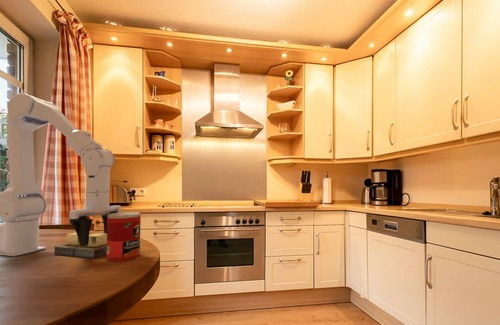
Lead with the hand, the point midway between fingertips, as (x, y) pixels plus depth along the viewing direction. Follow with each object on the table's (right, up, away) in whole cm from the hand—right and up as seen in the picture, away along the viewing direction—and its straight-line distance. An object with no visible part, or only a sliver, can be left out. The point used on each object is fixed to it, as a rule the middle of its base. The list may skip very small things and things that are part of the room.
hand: (96, 241), depth 71 cm
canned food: (+9, -3, -4) cm, 11 cm away
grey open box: (-3, -3, +1) cm, 4 cm away
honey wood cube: (0, -3, 0) cm, 3 cm away
